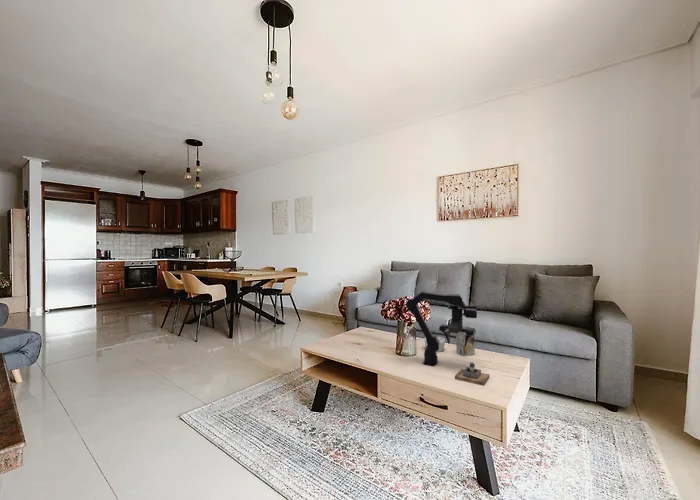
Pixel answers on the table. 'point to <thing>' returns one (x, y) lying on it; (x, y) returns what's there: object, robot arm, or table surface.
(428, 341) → the robot arm
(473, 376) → the metal link
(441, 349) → the ramekin
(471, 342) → the coffee box
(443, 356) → the table surface
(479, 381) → the square knob plate
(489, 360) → the table surface
